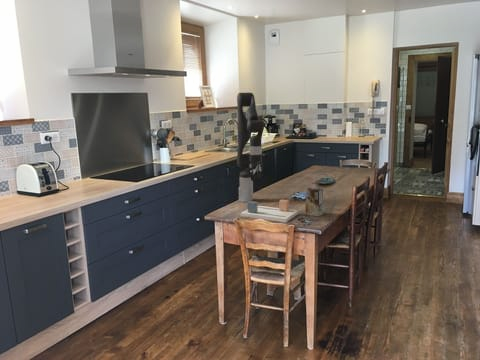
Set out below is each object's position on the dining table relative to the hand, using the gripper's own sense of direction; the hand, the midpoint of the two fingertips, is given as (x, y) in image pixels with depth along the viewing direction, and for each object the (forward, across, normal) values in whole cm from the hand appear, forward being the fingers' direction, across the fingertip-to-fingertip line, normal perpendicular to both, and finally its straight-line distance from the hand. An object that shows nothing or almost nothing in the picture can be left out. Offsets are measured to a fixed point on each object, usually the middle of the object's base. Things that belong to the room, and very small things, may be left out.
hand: (255, 179), depth 254 cm
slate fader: (+19, +5, +1) cm, 20 cm away
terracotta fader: (+19, -7, +16) cm, 26 cm away
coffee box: (+22, -14, +33) cm, 42 cm away
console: (+22, -1, +9) cm, 24 cm away
